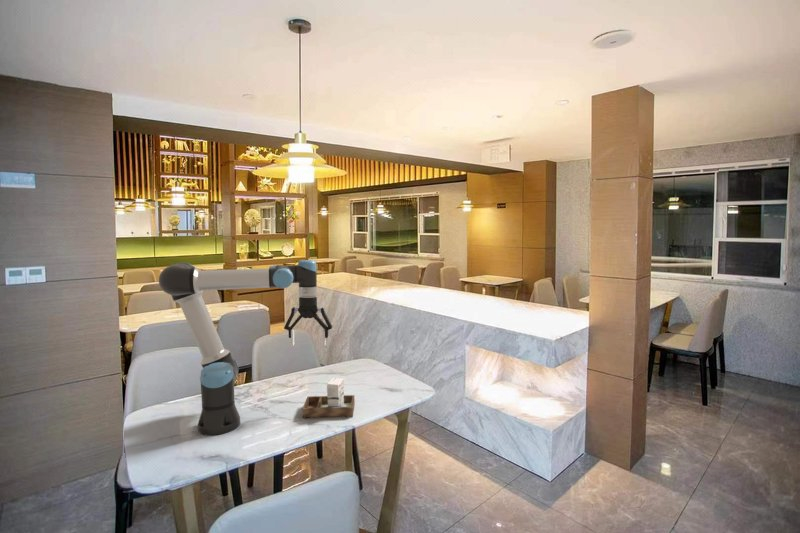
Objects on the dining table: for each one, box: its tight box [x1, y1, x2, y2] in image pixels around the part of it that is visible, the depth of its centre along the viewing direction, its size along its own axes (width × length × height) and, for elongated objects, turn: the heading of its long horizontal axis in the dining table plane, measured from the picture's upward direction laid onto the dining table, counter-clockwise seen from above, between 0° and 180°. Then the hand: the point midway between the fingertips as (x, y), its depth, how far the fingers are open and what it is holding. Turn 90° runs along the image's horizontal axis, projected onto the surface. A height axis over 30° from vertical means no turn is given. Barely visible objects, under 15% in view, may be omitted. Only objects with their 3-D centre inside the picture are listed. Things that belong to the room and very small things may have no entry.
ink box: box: [326, 377, 345, 407], centre depth 182 cm, size 9×5×12 cm, turn 172°
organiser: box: [301, 394, 356, 419], centre depth 182 cm, size 20×13×4 cm, turn 93°
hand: (308, 345), depth 189 cm, fingers open, 13 cm apart
